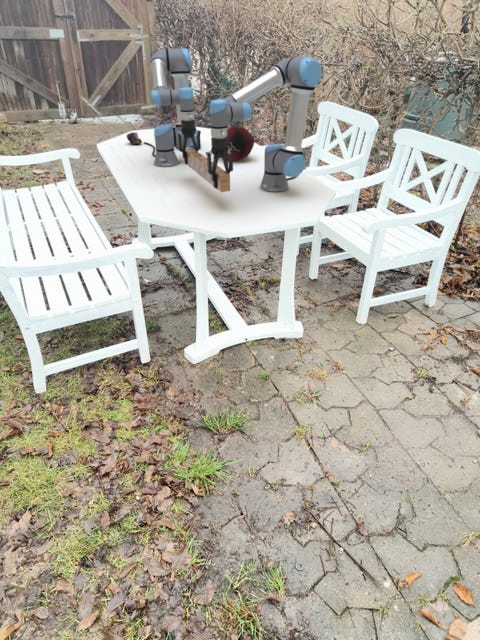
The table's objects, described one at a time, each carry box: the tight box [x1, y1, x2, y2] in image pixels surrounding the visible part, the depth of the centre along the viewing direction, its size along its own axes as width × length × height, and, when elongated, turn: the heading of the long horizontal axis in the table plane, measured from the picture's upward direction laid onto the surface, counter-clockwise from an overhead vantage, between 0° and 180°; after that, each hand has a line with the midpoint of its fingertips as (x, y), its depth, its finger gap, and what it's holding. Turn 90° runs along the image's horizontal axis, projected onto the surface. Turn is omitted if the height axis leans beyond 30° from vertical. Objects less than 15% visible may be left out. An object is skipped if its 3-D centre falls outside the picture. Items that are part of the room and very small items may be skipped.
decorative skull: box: [226, 125, 255, 162], centre depth 297 cm, size 21×24×25 cm
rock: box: [126, 132, 143, 145], centre depth 336 cm, size 12×9×10 cm
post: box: [182, 147, 231, 193], centre depth 237 cm, size 59×5×8 cm, turn 23°
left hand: (190, 163), depth 257 cm, fingers closed on post, 5 cm apart
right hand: (220, 186), depth 221 cm, fingers closed on post, 5 cm apart
